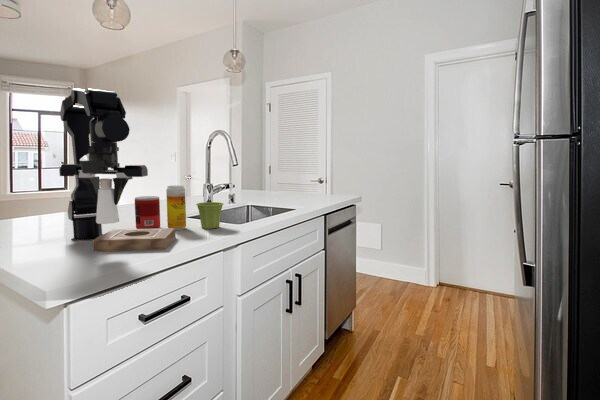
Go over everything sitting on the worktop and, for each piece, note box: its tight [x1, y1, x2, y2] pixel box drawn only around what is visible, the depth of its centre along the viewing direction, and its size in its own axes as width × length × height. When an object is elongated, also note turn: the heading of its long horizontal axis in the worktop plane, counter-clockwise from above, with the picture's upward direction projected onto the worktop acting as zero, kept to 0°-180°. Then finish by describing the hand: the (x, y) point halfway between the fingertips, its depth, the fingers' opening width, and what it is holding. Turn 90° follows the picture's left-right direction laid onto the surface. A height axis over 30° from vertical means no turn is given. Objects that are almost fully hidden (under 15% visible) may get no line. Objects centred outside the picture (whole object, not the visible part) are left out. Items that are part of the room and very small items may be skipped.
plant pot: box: [195, 201, 224, 230], centre depth 124 cm, size 9×9×9 cm
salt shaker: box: [96, 178, 120, 225], centre depth 88 cm, size 5×5×11 cm
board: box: [92, 227, 176, 252], centre depth 100 cm, size 18×14×3 cm
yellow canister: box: [165, 185, 187, 231], centre depth 121 cm, size 6×6×15 cm
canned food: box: [134, 195, 161, 229], centre depth 121 cm, size 8×8×11 cm
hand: (107, 204), depth 88 cm, fingers closed on salt shaker, 4 cm apart
